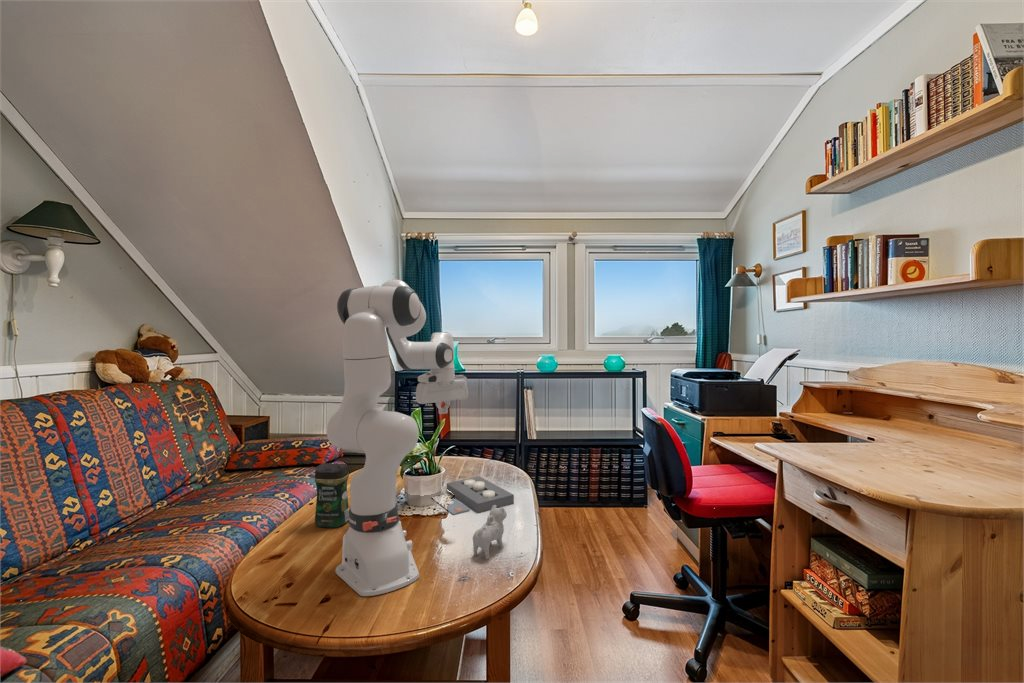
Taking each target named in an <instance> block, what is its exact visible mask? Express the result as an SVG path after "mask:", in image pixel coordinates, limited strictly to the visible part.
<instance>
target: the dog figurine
mask: <svg viewBox="0 0 1024 683" xmlns="http://www.w3.org/2000/svg"><path fill="white" fill-rule="evenodd" d="M507 513H508V512H507V511H506V509H505V508H504V506H502V507H498V508H496V505H493V506H492V509H491V510H489V515H487V520H486V522H485V523H484V524H482V526H481V527H480V528H479V529H477V530H475V532H474V534H473V535H472V546H473V547H472V550H473V556H475V557H476V556H478V550H479V548H480V549H481V550H482V551H483V552H484V558H485V560H489V559H490V558H491V556H490V546H492V542H494V541H496V543H497V545H498V548H499V549H504V544H503V535H504V530H505V529H504V527H505V526H504V524H503V521H504V520H505V519H506V518H507Z"/></svg>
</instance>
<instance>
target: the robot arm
mask: <svg viewBox="0 0 1024 683" xmlns="http://www.w3.org/2000/svg"><path fill="white" fill-rule="evenodd" d="M336 308H337V315H338V317H339V319H340V320H341V322H342V324H343V325H344V326H343V336H342V357H343V358H342V360H343V374H344V375H343V376H344V391H343V397H342V400H341V403H340V405H339V408H338V409H337V411H336V412H335V413H333V415H332V416H331V417H330V419H329V421H328V423H327V426H326V437H327V440H328V441H329V443H330V444H331V445H333V446H334V447H337V448H339V449H340V450H343V451H346V452H353V453H360V454H365V462H364V466H363V467H362V468H361V469H360V470H358V471H357V472H355V474H354V475H353V476H352V477H351V479H350V484H349V485H350V486H349V487H350V488H349V489H350V491H349V492H350V494H349V496H350V507H349V515H348V519H349V520H348V526H349V527H348V529H347V530H346V532H345V533H344V535H343V537H342V548H341V549H342V550H341V552H342V553H341V555H342V556H341V561H342V562H341V563H340V564H338V565H337V566H336V567H335V574H336V575H337V576H338V577H339V578H341V580H343V581H344V582H345V583H346V584H347V585H348V586H349V587H350V588H351V589H353V591H355V592H356V593H357V594H358V595H359V596H361V597H373V596H378V595H383V594H386V593H390V592H392V591H396V590H398V589H401V588H403V587H406V586H409V585H411V584H413V583H414V582H415V581H416V580H418V579H419V578H420V572H419V570H418V567H417V564H416V561H415V559H414V555H413V553H412V550H413V541H412V540H411V539H409V540H406V538H405V537H406V536H407V535H408V533H407V530H403V527H402V521H400V516H399V514H400V513H399V508H398V503H397V497H396V496H397V495H396V494H397V490H396V489H397V475H398V471H399V468H400V465H401V464H402V461H403V460H404V459H405V457H406V456H407V455H408V454H410V453H411V452H412V451H413V450H414V449H415V447H416V445H417V443H418V441H419V435H420V430H419V425H418V423H417V421H416V420H415V418H414V417H412V416H411V415H407V414H404V413H402V412H399V411H392V410H391V411H390V410H379V409H378V401H379V398H380V396H381V395H383V394H384V393H385V392H386V391H388V389H389V388H390V387H391V384H392V377H391V376H392V373H391V360H390V358H391V357H390V349H389V348H390V347H389V343H390V344H391V346H392V349H393V351H394V353H395V357H396V361H397V364H398V366H400V367H401V368H402V369H403V370H404V371H411V370H430V371H428V372H425V373H423V374H421V375H419V376H417V382H419V383H418V384H417V386H416V388H415V389H416V390H415V402H417V403H418V404H420V405H424V404H425V405H426V404H433V403H435V406H436V408H437V409H438V414H439V415H444V414H448V413H449V412H448V411H449V407H450V405H451V401H458V400H459V401H461V400H466V399H467V398H468V396H469V389H468V379H467V377H466V376H465V375H464V374H455V373H456V372H455V368H456V367H455V364H454V363H455V362H454V359H455V346H454V345H455V344H454V338H453V335H452V333H449V332H446V331H436V332H432V333H431V336H430V341H411V340H408V339H407V337H412V336H414V335H417V333H419V332H420V331H421V330H422V329H423V328H424V325H425V323H426V321H427V320H426V319H427V313H426V309H425V308H424V305H423V303H422V302H421V299H420V296H419V294H418V293H417V292H416V291H415V290H414V289H413V288H411V287H410V286H409V285H408V283H406V282H405V281H403V280H401V279H390V280H387V281H385V282H384V283H382V285H380V286H379V285H371V286H363V287H359V288H358V287H351V288H348V289H346V290H344V291H343V292H342V293H341V294H340V295H339V297H338V299H337V302H336ZM388 340H389V342H388ZM443 402H444V406H443V407H442V403H443Z"/></svg>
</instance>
